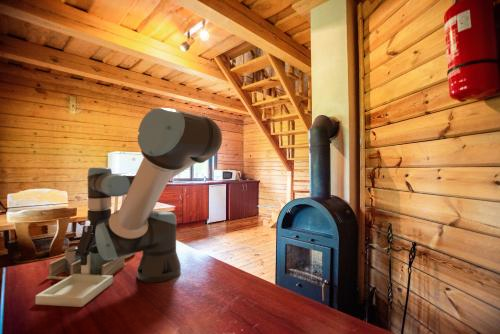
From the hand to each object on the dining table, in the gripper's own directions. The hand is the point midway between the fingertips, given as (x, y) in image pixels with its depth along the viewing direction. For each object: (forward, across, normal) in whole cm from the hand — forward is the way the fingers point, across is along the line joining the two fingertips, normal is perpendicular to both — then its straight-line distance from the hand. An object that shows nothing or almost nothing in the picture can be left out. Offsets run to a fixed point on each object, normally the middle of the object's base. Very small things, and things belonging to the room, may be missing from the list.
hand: (99, 265), depth 91 cm
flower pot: (+3, 0, 0) cm, 3 cm away
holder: (+2, 0, -5) cm, 5 cm away
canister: (+2, 0, -10) cm, 10 cm away
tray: (+2, +15, +3) cm, 15 cm away
